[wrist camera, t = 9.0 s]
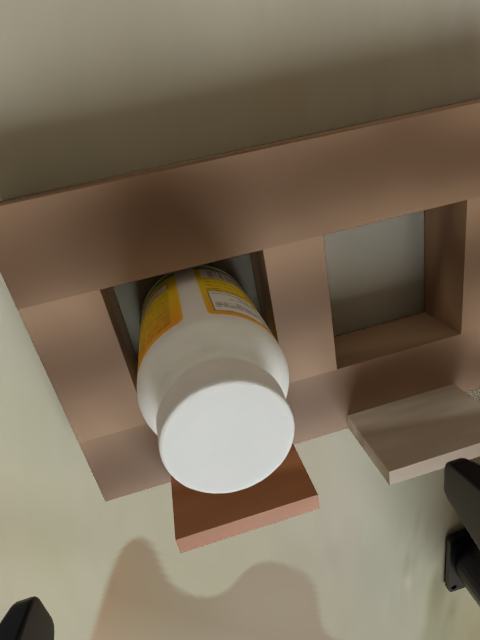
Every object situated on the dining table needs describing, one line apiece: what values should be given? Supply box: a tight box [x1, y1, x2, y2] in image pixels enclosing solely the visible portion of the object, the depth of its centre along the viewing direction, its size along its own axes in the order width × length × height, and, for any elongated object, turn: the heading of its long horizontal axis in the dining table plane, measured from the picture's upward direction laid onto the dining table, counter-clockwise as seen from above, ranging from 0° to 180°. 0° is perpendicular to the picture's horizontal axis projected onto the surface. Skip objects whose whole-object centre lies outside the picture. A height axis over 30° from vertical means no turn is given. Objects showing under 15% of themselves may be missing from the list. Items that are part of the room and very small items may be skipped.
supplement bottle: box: [137, 265, 295, 494], centre depth 16 cm, size 5×5×10 cm
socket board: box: [0, 98, 480, 553], centre depth 18 cm, size 14×22×7 cm, turn 101°
